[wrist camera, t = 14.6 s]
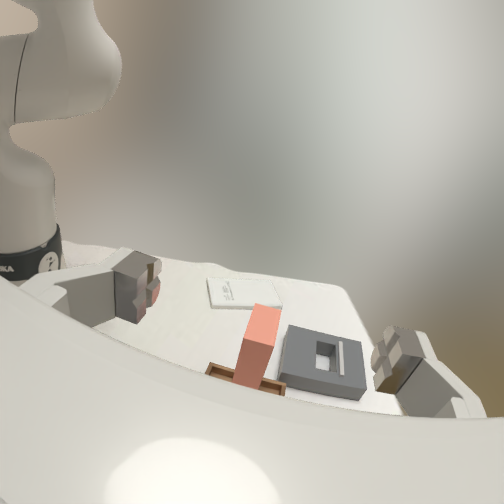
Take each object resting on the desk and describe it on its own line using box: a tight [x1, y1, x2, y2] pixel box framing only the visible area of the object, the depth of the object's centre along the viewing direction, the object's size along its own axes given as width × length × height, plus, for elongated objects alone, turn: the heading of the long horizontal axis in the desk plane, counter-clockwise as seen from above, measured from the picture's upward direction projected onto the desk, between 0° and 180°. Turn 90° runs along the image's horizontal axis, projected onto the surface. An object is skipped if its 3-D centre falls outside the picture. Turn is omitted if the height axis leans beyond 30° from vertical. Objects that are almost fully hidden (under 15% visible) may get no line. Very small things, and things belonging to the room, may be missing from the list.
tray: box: [205, 362, 286, 396], centre depth 31 cm, size 10×10×2 cm
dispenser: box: [277, 325, 367, 400], centre depth 39 cm, size 12×10×3 cm
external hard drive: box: [207, 278, 283, 310], centre depth 53 cm, size 2×8×12 cm
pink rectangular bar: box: [232, 303, 281, 390], centre depth 28 cm, size 2×5×14 cm, turn 169°
